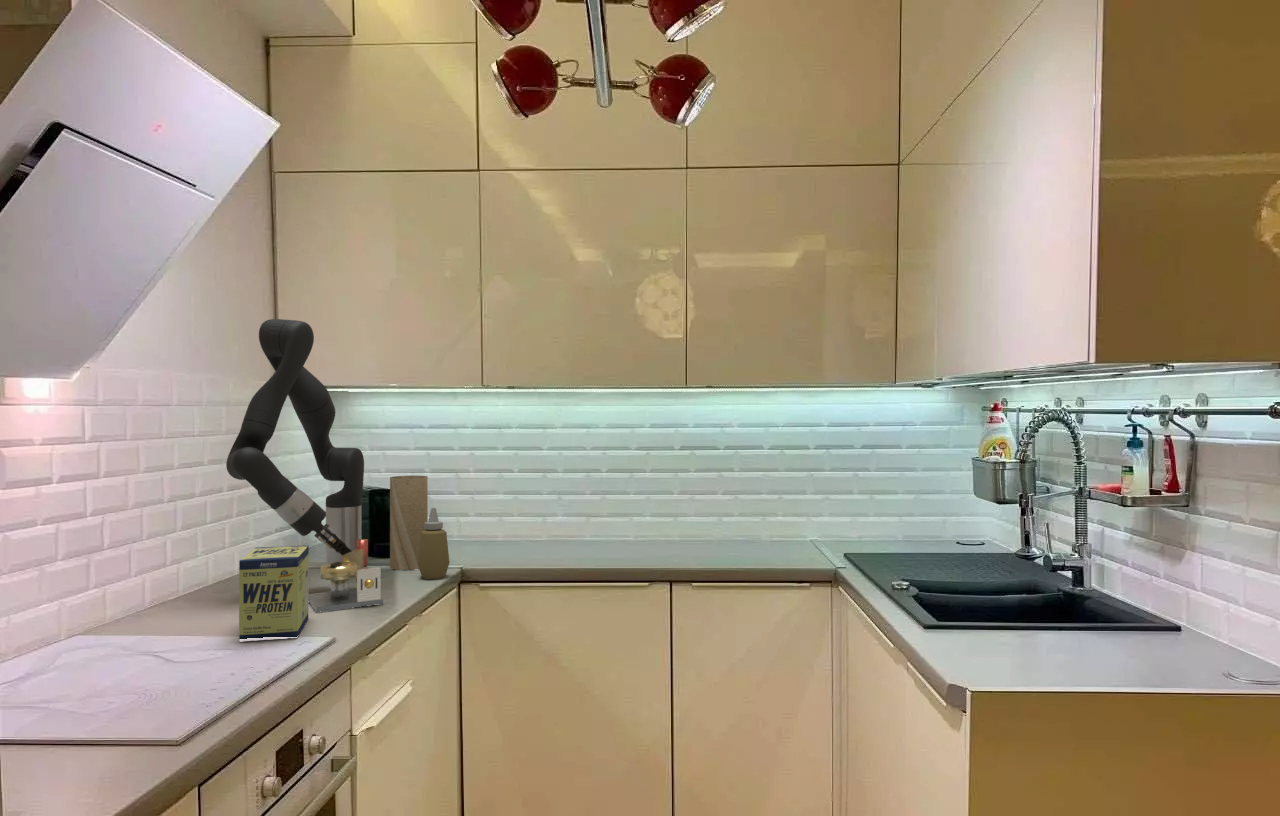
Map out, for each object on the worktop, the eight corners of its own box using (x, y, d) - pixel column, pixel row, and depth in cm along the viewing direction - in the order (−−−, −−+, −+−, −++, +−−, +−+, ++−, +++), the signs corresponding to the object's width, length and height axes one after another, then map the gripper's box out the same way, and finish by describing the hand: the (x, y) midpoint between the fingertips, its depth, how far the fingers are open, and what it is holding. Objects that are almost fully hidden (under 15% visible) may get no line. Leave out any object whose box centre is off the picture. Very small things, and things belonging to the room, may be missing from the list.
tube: (408, 572, 214) (408, 479, 214) (382, 568, 219) (382, 477, 219) (435, 565, 222) (435, 476, 222) (409, 562, 227) (409, 475, 227)
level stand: (306, 599, 183) (306, 563, 183) (369, 592, 190) (369, 558, 190) (317, 614, 170) (317, 575, 170) (384, 605, 177) (384, 568, 177)
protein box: (238, 643, 149) (238, 560, 149) (254, 622, 164) (254, 546, 164) (298, 639, 151) (298, 557, 151) (309, 618, 166) (309, 544, 166)
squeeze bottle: (423, 582, 201) (423, 511, 201) (413, 576, 208) (413, 507, 208) (454, 578, 206) (454, 508, 206) (443, 573, 212) (443, 505, 212)
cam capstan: (348, 565, 195) (348, 538, 195) (380, 565, 194) (380, 539, 195) (314, 582, 176) (314, 552, 176) (350, 582, 176) (350, 552, 176)
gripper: (316, 502, 183) (371, 551, 189) (308, 497, 194) (359, 543, 200) (291, 527, 180) (347, 576, 186) (284, 520, 191) (337, 566, 198)
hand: (353, 559), depth 193 cm, fingers closed
